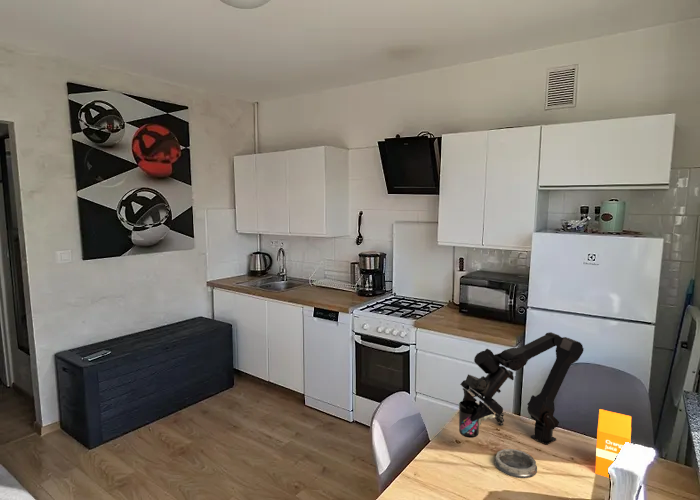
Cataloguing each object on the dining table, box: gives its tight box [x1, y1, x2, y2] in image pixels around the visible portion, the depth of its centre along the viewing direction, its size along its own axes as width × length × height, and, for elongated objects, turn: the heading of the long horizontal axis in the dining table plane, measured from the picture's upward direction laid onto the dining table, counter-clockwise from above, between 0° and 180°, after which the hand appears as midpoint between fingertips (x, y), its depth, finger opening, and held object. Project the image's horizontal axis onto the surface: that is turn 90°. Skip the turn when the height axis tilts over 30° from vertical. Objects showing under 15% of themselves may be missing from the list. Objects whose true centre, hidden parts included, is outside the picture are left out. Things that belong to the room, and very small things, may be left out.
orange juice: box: [594, 408, 632, 479], centre depth 135 cm, size 8×9×20 cm
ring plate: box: [494, 448, 538, 479], centre depth 139 cm, size 13×13×2 cm
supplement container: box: [458, 400, 480, 439], centre depth 147 cm, size 7×7×10 cm
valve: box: [479, 412, 505, 427], centre depth 167 cm, size 7×7×12 cm
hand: (465, 415), depth 146 cm, fingers closed on supplement container, 7 cm apart
